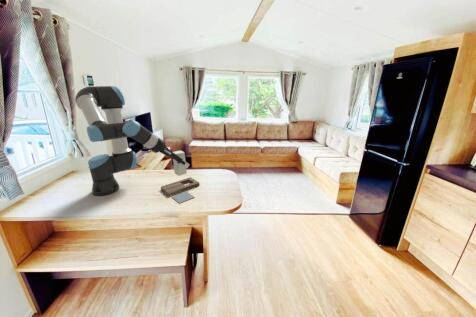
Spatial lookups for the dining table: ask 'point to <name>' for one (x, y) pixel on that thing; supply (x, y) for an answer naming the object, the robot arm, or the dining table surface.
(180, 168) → the puzzle block
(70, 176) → the dining table surface
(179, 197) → the mat
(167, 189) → the puzzle board
